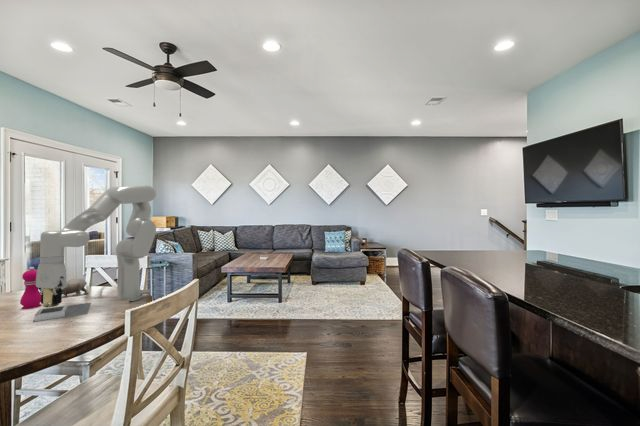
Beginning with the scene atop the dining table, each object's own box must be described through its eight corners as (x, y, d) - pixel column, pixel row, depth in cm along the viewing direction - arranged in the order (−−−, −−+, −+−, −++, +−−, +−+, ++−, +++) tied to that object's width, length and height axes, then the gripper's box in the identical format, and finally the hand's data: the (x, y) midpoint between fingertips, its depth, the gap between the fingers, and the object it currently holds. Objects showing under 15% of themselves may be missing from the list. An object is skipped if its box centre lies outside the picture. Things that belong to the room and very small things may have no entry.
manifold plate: (91, 305, 137) (91, 297, 137) (87, 317, 122) (87, 308, 122) (42, 312, 127) (43, 303, 127) (32, 326, 112) (32, 316, 112)
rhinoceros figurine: (91, 291, 151) (71, 270, 147) (63, 310, 145) (41, 288, 141) (94, 289, 157) (75, 268, 154) (68, 307, 151) (47, 286, 148)
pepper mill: (27, 313, 125) (28, 268, 125) (15, 312, 127) (15, 267, 127) (46, 307, 133) (46, 265, 132) (34, 306, 134) (35, 264, 134)
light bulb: (60, 303, 122) (60, 284, 122) (58, 306, 118) (58, 287, 118) (44, 304, 119) (44, 286, 119) (41, 308, 115) (42, 288, 115)
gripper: (25, 260, 117) (24, 304, 117) (59, 262, 114) (58, 307, 114) (46, 257, 124) (45, 299, 124) (78, 259, 121) (77, 301, 121)
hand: (51, 302), depth 119 cm, fingers closed on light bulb, 5 cm apart
